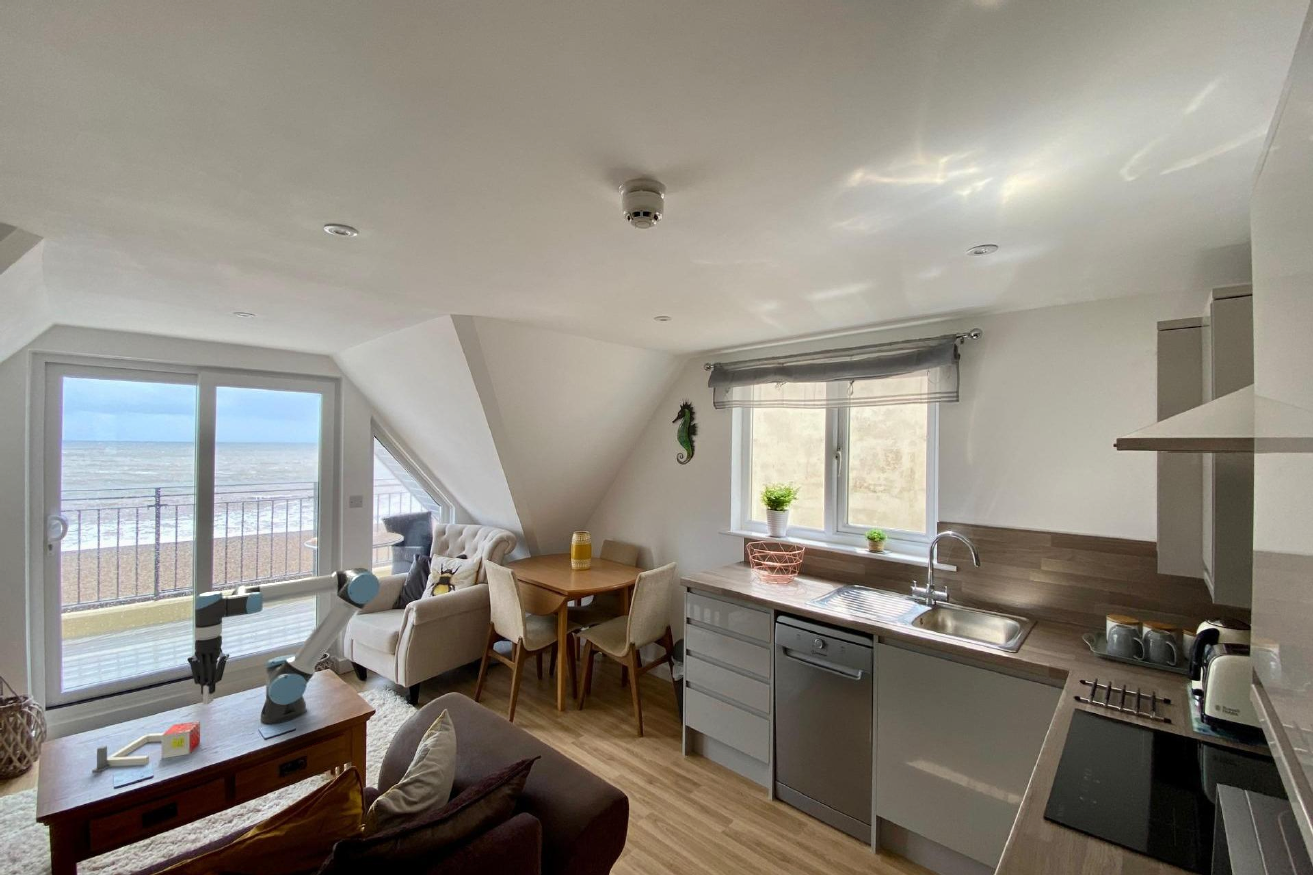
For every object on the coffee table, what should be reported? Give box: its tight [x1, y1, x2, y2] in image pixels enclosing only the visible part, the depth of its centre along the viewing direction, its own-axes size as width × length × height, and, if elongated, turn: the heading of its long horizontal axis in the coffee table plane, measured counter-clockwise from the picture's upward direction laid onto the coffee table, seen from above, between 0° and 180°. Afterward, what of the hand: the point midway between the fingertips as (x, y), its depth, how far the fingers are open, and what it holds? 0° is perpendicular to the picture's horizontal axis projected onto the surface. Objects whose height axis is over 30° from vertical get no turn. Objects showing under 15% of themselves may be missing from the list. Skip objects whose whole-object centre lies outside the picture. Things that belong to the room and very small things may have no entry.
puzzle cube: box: [161, 720, 201, 759], centre depth 194 cm, size 8×8×8 cm
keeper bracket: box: [91, 732, 165, 773], centre depth 192 cm, size 14×20×7 cm
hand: (208, 702), depth 195 cm, fingers closed
